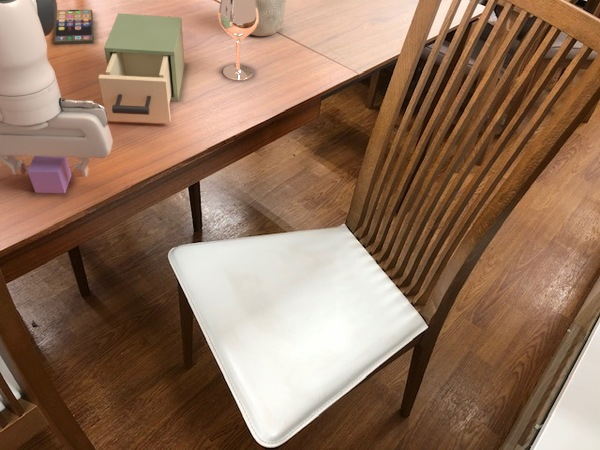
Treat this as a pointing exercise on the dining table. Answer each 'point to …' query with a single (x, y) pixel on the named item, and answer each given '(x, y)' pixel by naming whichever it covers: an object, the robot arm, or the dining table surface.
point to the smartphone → (73, 27)
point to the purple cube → (49, 174)
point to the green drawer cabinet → (149, 41)
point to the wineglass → (238, 30)
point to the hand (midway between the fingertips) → (51, 173)
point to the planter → (269, 17)
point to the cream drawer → (137, 87)
